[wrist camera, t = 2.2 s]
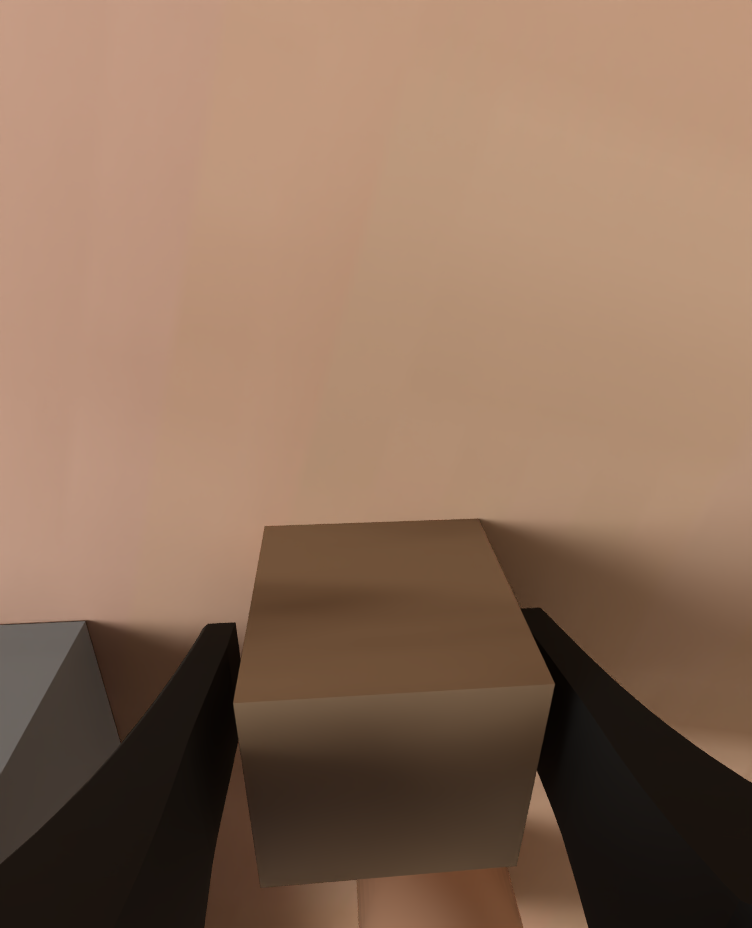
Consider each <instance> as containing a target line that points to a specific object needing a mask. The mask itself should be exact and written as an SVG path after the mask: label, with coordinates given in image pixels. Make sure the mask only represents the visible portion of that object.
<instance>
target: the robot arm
mask: <svg viewBox="0 0 752 928" xmlns="http://www.w3.org/2000/svg"><path fill="white" fill-rule="evenodd" d="M521 612H522V614H523V616H524V618H525V620H526V622H527V625H528V627H529V629H530V631H531V633H532V635H533V638H534V640H535V642H536V644H537V646H538V648H539V651H540V653H541V655H542V657H543V659H544V661H545V664H546V666H547V668H548V670H549V672H550V674H551V677H552V679H553V681H554V683H555V686H554V691H553V696H552V700H551V705H550V710H549V715H548V719H547V724H546V729H545V733H544V738H543V743H542V748H541V752H540V757H539V762H538V767H537V771H538V774H539V776H540V779H541V782H542V784H543V787H544V789H545V792H546V794H547V797H548V799H549V802H550V804H551V807H552V809H553V812H554V814H555V817H556V820H557V823H558V826H559V829H560V831H561V834H562V837H563V841H564V844H565V847H566V851H567V854H568V857H569V861H570V864H571V868H572V871H573V874H574V878H575V881H576V884H577V888H578V892H579V895H580V899H581V902H582V906H583V910H584V913H585V917H586V920H587V924H588V928H752V783H751V782H749V781H748V780H746V779H744V778H743V777H741V776H740V775H738V774H737V773H735V772H734V771H732V770H731V769H729V768H728V767H726V766H725V765H723V764H722V763H720V762H719V761H717V760H716V759H714V758H713V757H711V756H710V755H708V754H707V753H705V752H704V751H702V750H701V749H700V748H698V747H697V746H695V745H694V744H693V743H691V742H690V741H689V740H687V739H686V738H685V737H683V736H682V735H681V734H679V733H678V732H677V731H675V730H674V729H673V728H671V727H670V726H669V725H667V724H666V723H665V722H663V721H662V720H661V719H659V718H658V717H657V716H656V715H654V714H653V713H652V712H651V711H649V710H648V709H647V708H646V707H645V706H644V705H642V704H641V703H640V702H639V701H638V700H636V699H635V698H634V697H633V696H632V695H631V694H629V693H628V692H627V691H626V690H625V689H624V688H623V687H621V686H620V685H619V684H618V683H617V682H616V681H615V680H614V679H613V678H611V677H610V676H609V675H608V674H607V673H606V672H605V671H604V670H603V669H602V668H601V667H600V666H599V665H598V664H597V663H595V662H594V661H593V660H592V659H591V658H590V657H589V656H588V655H587V654H586V653H585V652H584V651H583V650H582V649H581V648H580V647H579V646H578V645H577V644H576V643H575V642H574V641H573V640H572V639H571V638H570V637H569V636H568V635H567V634H566V633H565V632H564V631H563V630H562V629H561V628H560V627H559V626H558V625H557V624H556V623H555V622H554V621H553V620H552V619H551V618H550V617H549V616H548V615H547V614H546V613H545V612H544V611H543V610H542V609H541V608H525V609H521ZM240 662H241V660H240V652H239V645H238V637H237V630H236V623H215V624H207V625H206V626H205V627H204V628H203V629H202V631H201V633H200V635H199V636H198V638H197V639H196V641H195V643H194V644H193V646H192V648H191V649H190V651H189V652H188V654H187V655H186V657H185V658H184V660H183V661H182V663H181V664H180V666H179V667H178V669H177V670H176V672H175V673H174V675H173V676H172V678H171V679H170V680H169V682H168V683H167V685H166V686H165V687H164V689H163V690H162V692H161V693H160V694H159V696H158V697H157V699H156V700H155V701H154V703H153V704H152V705H151V707H150V708H149V709H148V710H147V712H146V713H145V714H144V716H143V717H142V718H141V719H140V721H139V722H138V723H137V724H136V726H135V727H134V728H133V729H132V731H131V732H130V733H129V734H128V736H127V737H126V738H125V739H124V741H123V742H122V743H121V744H120V745H119V746H118V748H117V749H116V750H115V751H114V752H113V754H112V755H111V756H110V757H109V758H108V759H107V760H106V761H105V763H104V764H103V765H102V766H101V767H100V768H99V769H98V770H97V771H96V772H95V774H94V775H93V776H92V777H91V778H90V779H89V780H88V781H87V782H86V783H85V784H84V785H83V786H82V787H81V788H80V789H79V790H78V791H77V792H76V793H75V794H74V795H73V796H72V797H71V798H70V799H69V800H68V801H67V802H66V804H65V805H64V806H63V807H62V808H61V809H60V810H59V811H58V812H57V813H56V814H55V815H53V816H52V817H51V818H50V819H49V820H48V821H47V822H46V823H45V824H44V825H43V826H42V827H41V828H40V829H39V830H38V831H37V832H36V833H34V834H33V835H32V836H31V837H30V838H29V839H28V840H27V841H25V842H24V843H23V844H22V845H21V846H20V847H19V848H18V849H16V850H15V851H14V852H13V853H12V854H11V855H10V856H9V857H7V858H6V859H5V860H4V861H3V862H2V863H1V864H0V928H204V926H205V917H206V909H207V902H208V894H209V886H210V878H211V871H212V863H213V858H214V852H215V847H216V841H217V836H218V832H219V827H220V822H221V818H222V813H223V809H224V804H225V800H226V795H227V790H228V786H229V781H230V777H231V772H232V767H233V763H234V758H235V753H236V749H237V744H238V732H237V726H236V719H235V712H234V705H233V701H234V696H235V690H236V685H237V679H238V673H239V668H240Z"/></svg>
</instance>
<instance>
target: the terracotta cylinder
mask: <svg viewBox="0 0 752 928" xmlns="http://www.w3.org/2000/svg"><path fill="white" fill-rule="evenodd" d="M357 899H358V922H359V928H523V924H522V920H521V917H520V913H519V909H518V905H517V902H516V898H515V894H514V890H513V887H512V883H511V879H510V875H509V872H508V868H507V867H499V868H487V869H476V870H464V871H452V872H440V873H429V874H417V875H405V876H393V877H382V878H370V879H358V880H357Z"/></svg>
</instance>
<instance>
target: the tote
mask: <svg viewBox="0 0 752 928" xmlns="http://www.w3.org/2000/svg"><path fill="white" fill-rule="evenodd" d="M120 744H121V743H120V739H119V736H118V732H117V729H116V725H115V722H114V719H113V715H112V712H111V708H110V705H109V701H108V698H107V694H106V691H105V688H104V684H103V681H102V677H101V674H100V670H99V667H98V663H97V660H96V657H95V653H94V650H93V646H92V643H91V639H90V636H89V632H88V629H87V626H86V622H85V621H77V622H56V623H35V624H14V625H0V864H1V863H2V862H3V861H4V860H5V859H6V858H7V857H9V856H10V855H11V854H12V853H13V852H14V851H15V850H16V849H18V848H19V847H20V846H21V845H22V844H23V843H24V842H25V841H27V840H28V839H29V838H30V837H31V836H32V835H33V834H34V833H36V832H37V831H38V830H39V829H40V828H41V827H42V826H43V825H44V824H45V823H46V822H47V821H48V820H49V819H50V818H51V817H52V816H53V815H55V814H56V813H57V812H58V811H59V810H60V809H61V808H62V807H63V806H64V805H65V804H66V802H67V801H68V800H69V799H70V798H71V797H72V796H73V795H74V794H75V793H76V792H77V791H78V790H79V789H80V788H81V787H82V786H83V785H84V784H85V783H86V782H87V781H88V780H89V779H90V778H91V777H92V776H93V775H94V774H95V772H96V771H97V770H98V769H99V768H100V767H101V766H102V765H103V764H104V763H105V761H106V760H107V759H108V758H109V757H110V756H111V755H112V754H113V752H114V751H115V750H116V749H117V748H118V746H119V745H120Z"/></svg>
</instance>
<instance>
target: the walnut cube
mask: <svg viewBox="0 0 752 928" xmlns="http://www.w3.org/2000/svg"><path fill="white" fill-rule="evenodd" d="M554 686H555V683H554V681H553V679H552V677H551V674H550V672H549V670H548V668H547V666H546V664H545V661H544V659H543V657H542V655H541V653H540V651H539V648H538V646H537V644H536V642H535V640H534V638H533V635H532V633H531V631H530V629H529V627H528V625H527V622H526V620H525V618H524V616H523V614H522V612H521V609H520V607H519V605H518V603H517V601H516V599H515V596H514V594H513V592H512V590H511V588H510V586H509V583H508V581H507V579H506V577H505V575H504V573H503V571H502V568H501V566H500V564H499V562H498V560H497V558H496V555H495V553H494V551H493V549H492V547H491V545H490V542H489V540H488V538H487V536H486V534H485V532H484V529H483V527H482V525H481V523H480V521H479V519H456V520H428V521H400V522H372V523H343V524H315V525H287V526H265V528H264V533H263V539H262V545H261V550H260V556H259V561H258V567H257V573H256V578H255V584H254V589H253V595H252V601H251V606H250V612H249V617H248V623H247V629H246V634H245V640H244V645H243V651H242V657H241V662H240V668H239V673H238V679H237V685H236V690H235V696H234V701H233V705H234V712H235V719H236V726H237V732H238V739H239V746H240V753H241V759H242V766H243V773H244V780H245V786H246V793H247V800H248V807H249V813H250V820H251V827H252V834H253V840H254V847H255V854H256V860H257V867H258V874H259V881H260V887H261V888H264V887H276V886H288V885H299V884H311V883H323V882H335V881H346V880H358V879H370V878H382V877H393V876H405V875H417V874H429V873H440V872H452V871H464V870H476V869H487V868H499V867H511V866H517V861H518V856H519V852H520V847H521V842H522V838H523V833H524V828H525V823H526V819H527V814H528V809H529V804H530V800H531V795H532V790H533V786H534V781H535V776H536V771H537V767H538V762H539V757H540V752H541V748H542V743H543V738H544V733H545V729H546V724H547V719H548V715H549V710H550V705H551V700H552V696H553V691H554Z"/></svg>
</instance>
